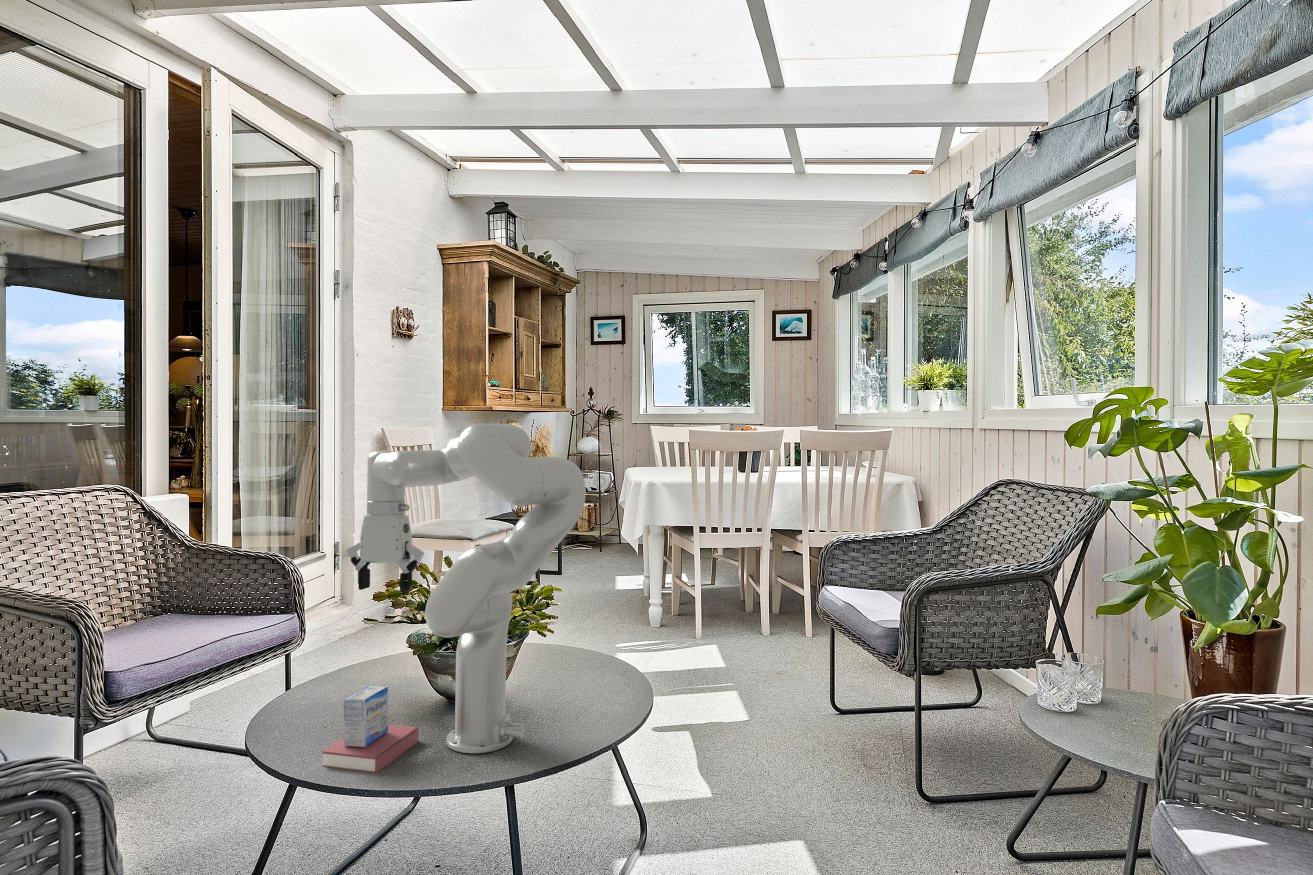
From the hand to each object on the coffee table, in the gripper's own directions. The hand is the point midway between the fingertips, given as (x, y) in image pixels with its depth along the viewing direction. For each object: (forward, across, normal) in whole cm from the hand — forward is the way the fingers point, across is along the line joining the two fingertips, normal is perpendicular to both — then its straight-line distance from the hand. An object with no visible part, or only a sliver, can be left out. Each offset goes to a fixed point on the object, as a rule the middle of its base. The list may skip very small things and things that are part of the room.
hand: (384, 589), depth 159 cm
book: (+27, -9, +18) cm, 33 cm away
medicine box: (+24, -8, +19) cm, 31 cm away
